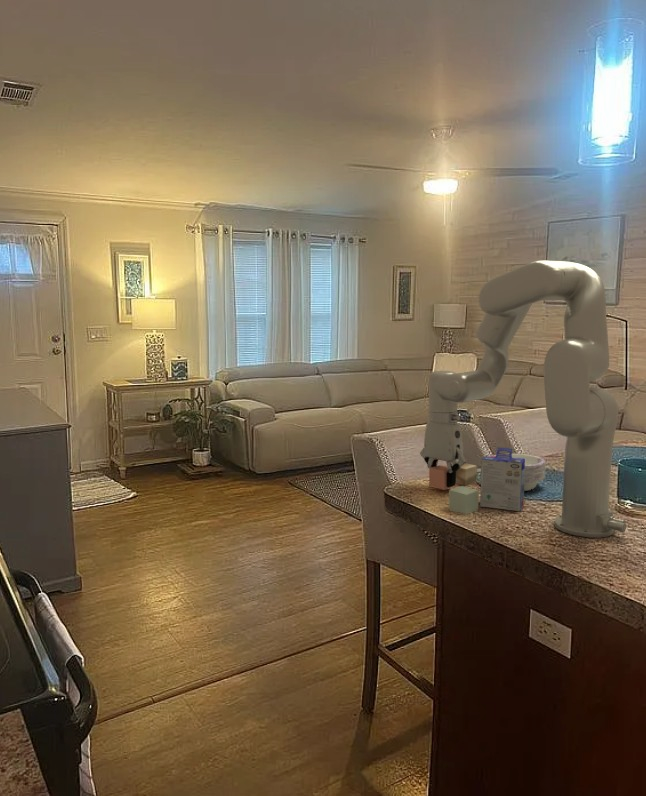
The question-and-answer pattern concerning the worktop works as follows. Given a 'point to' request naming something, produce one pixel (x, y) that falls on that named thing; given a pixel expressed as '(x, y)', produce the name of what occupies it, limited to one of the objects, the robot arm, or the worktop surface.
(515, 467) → the ink cartridge box
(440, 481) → the coral block
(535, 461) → the paper bowls
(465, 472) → the maple block
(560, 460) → the worktop surface
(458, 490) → the sage block
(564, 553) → the worktop surface
